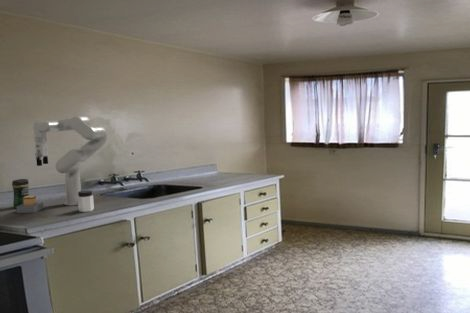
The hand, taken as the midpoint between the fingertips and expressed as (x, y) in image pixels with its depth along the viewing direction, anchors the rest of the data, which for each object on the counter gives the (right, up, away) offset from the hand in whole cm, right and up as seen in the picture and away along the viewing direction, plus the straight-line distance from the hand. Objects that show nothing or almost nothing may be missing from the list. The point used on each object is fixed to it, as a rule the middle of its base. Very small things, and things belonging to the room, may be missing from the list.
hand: (42, 164), depth 268 cm
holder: (+1, -29, -19) cm, 34 cm away
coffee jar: (-10, -28, -8) cm, 31 cm away
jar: (+38, -28, -22) cm, 53 cm away
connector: (+1, -28, -19) cm, 33 cm away
